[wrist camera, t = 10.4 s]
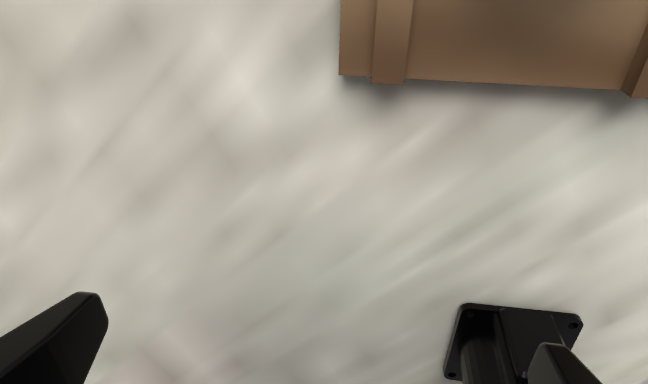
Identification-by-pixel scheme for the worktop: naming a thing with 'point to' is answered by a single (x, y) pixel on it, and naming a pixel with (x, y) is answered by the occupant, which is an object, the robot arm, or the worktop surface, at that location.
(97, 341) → the robot arm
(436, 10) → the channel board
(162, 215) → the worktop surface
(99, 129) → the worktop surface
